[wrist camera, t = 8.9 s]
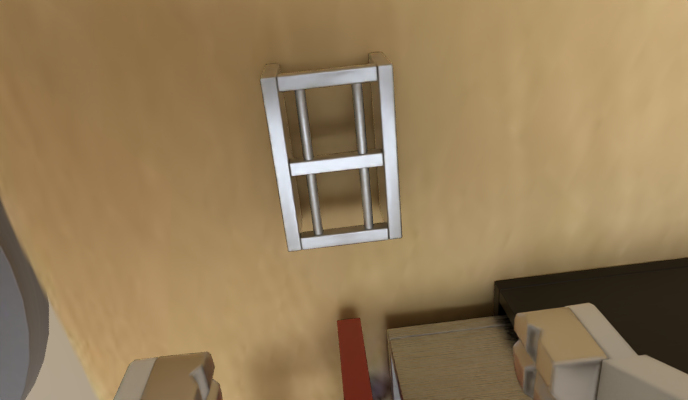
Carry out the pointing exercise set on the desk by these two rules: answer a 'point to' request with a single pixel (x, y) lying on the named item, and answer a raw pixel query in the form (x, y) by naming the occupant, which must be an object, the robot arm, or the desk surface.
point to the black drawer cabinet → (616, 303)
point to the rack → (361, 159)
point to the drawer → (437, 361)
